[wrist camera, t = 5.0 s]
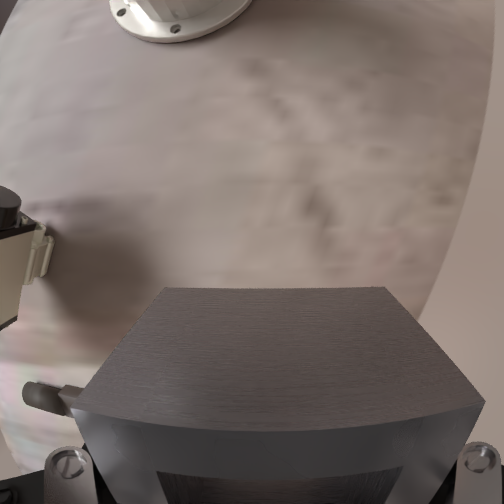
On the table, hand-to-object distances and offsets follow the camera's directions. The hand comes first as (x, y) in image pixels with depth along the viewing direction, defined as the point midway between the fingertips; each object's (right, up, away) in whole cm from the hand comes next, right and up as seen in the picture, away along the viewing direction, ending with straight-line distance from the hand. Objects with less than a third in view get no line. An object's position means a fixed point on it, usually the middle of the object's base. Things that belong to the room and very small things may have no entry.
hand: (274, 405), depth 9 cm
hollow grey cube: (0, 0, +1) cm, 1 cm away
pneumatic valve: (-20, +5, +15) cm, 26 cm away
